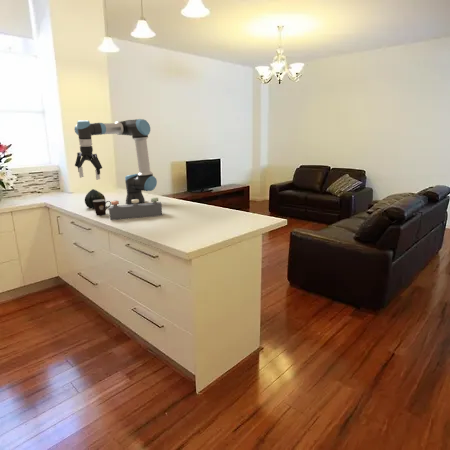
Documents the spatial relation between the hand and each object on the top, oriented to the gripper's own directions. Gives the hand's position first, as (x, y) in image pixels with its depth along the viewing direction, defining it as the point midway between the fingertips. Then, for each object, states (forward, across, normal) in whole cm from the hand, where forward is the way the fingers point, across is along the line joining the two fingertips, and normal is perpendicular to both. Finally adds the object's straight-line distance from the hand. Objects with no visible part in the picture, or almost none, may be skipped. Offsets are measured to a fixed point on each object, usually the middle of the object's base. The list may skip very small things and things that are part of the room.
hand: (89, 178), depth 225 cm
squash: (+31, -21, +26) cm, 46 cm away
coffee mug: (+28, +1, +8) cm, 29 cm away
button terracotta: (+18, +18, +1) cm, 25 cm away
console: (+25, +30, +8) cm, 39 cm away
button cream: (+17, +29, +8) cm, 34 cm away
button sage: (+17, +40, +15) cm, 46 cm away
